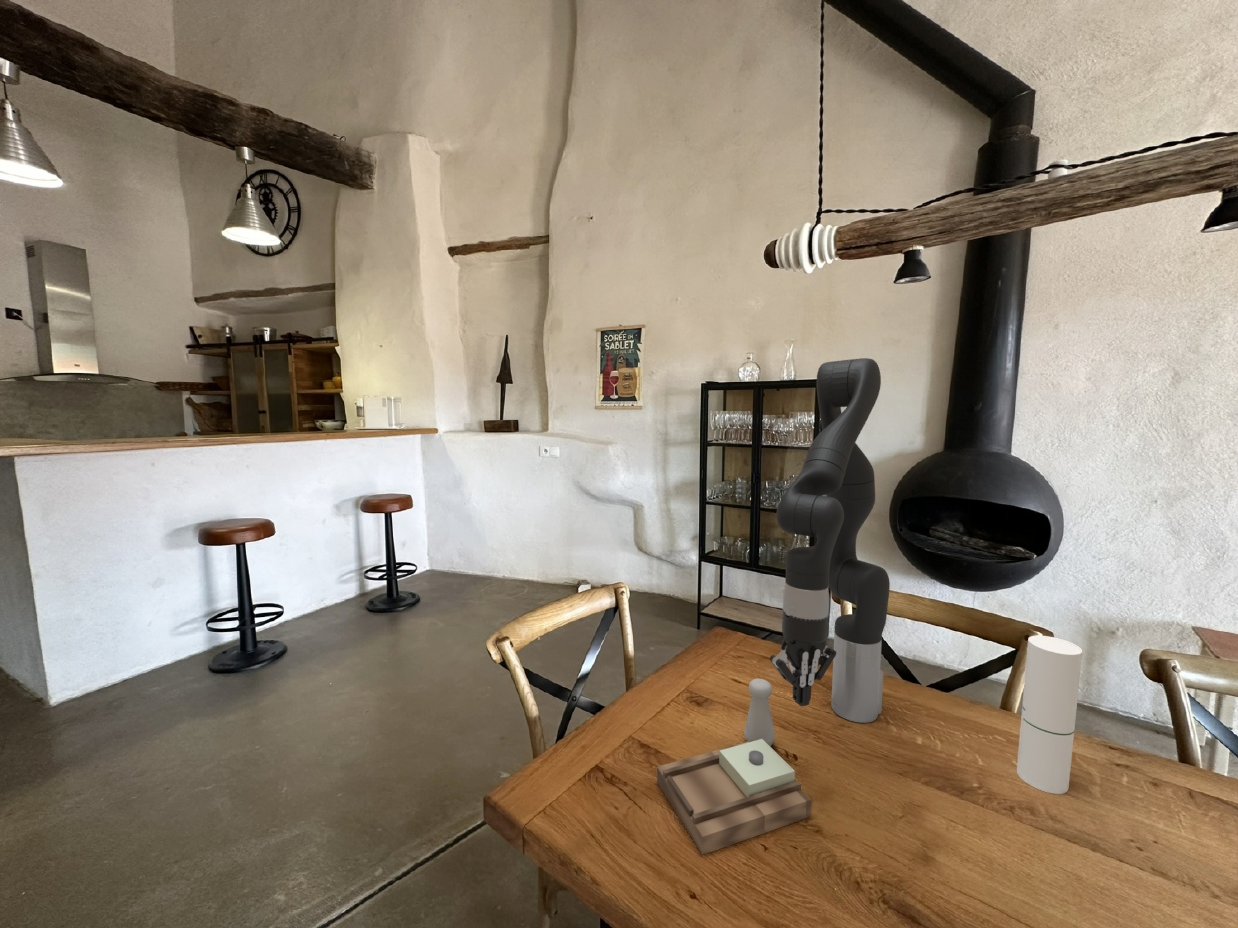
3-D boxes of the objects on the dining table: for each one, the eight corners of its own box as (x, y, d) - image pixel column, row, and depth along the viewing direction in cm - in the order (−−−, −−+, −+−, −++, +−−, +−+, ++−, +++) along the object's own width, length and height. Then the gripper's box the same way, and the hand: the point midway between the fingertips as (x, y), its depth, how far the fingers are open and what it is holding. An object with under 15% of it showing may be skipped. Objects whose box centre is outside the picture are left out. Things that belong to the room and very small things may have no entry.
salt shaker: (771, 736, 104) (773, 675, 103) (777, 755, 99) (779, 690, 97) (742, 734, 105) (743, 673, 104) (746, 753, 99) (747, 689, 98)
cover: (761, 751, 95) (762, 733, 95) (794, 784, 87) (795, 765, 86) (719, 763, 92) (719, 745, 92) (748, 799, 84) (749, 779, 83)
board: (752, 754, 99) (752, 735, 99) (810, 816, 84) (811, 793, 84) (656, 782, 92) (656, 761, 92) (702, 854, 77) (702, 830, 77)
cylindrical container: (1060, 771, 94) (1073, 639, 91) (1075, 798, 87) (1089, 658, 85) (1012, 760, 97) (1023, 632, 94) (1022, 786, 90) (1035, 649, 88)
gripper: (820, 596, 95) (816, 685, 97) (760, 606, 91) (757, 699, 93) (852, 611, 88) (846, 707, 90) (788, 622, 84) (784, 723, 86)
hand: (801, 703), depth 92 cm, fingers closed
